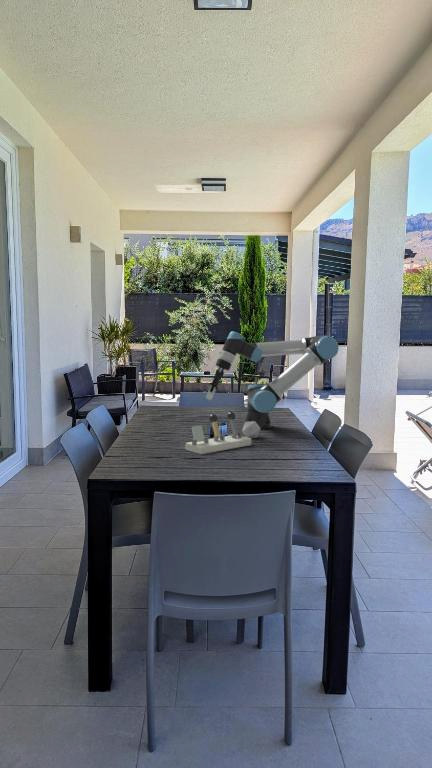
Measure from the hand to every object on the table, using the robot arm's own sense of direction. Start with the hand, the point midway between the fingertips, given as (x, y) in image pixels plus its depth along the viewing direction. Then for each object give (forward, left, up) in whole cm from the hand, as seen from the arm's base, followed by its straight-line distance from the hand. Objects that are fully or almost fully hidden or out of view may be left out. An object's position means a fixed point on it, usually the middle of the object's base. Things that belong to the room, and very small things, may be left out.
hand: (208, 399), depth 279 cm
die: (-21, +10, -18) cm, 29 cm away
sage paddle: (+6, +38, -15) cm, 41 cm away
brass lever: (-3, +31, -15) cm, 35 cm away
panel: (-3, +31, -18) cm, 36 cm away
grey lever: (-12, +25, -15) cm, 31 cm away
